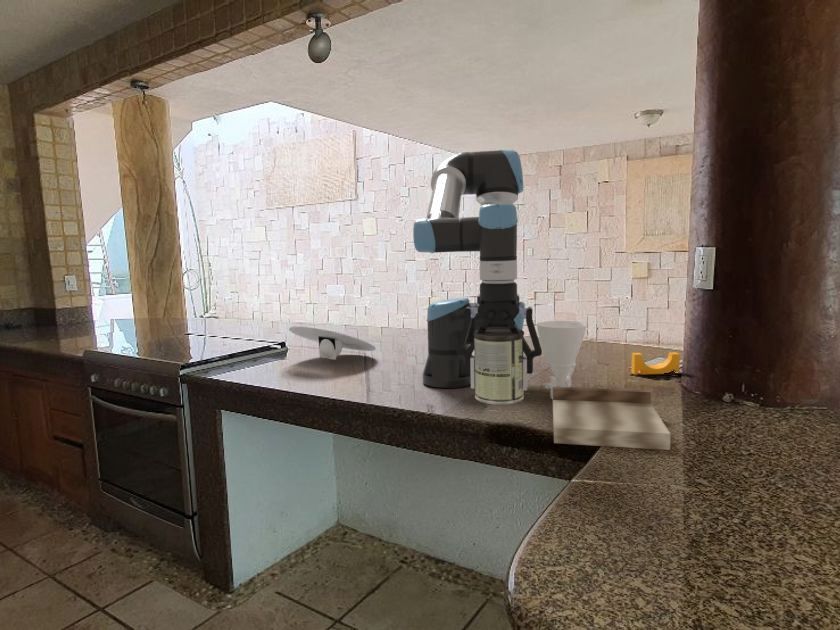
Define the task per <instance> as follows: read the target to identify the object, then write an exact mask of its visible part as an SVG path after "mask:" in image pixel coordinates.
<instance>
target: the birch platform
mask: <svg viewBox="0 0 840 630" xmlns="http://www.w3.org/2000/svg"><path fill="white" fill-rule="evenodd" d="M651 395H652V392H651V390H650V389H648V390H647V389H626V388H625V389H623V388H619V389H618V388H599V387H598V388H596V387H572V386H571V387H553V399H552V425H553V427H552V428H553V444H561V445H562V444H565V445H580V446H597V447H599V446H600V447H612V448H613V447H615V448H617V447H618V448H630V449H631V448H632V449H633V448H634V449H649V450H664V451H665V450H666V451H667V450H669V451H670V450H671V434H672V433H671V432H670V430H669V429H668V428H667V426H666V424H665V423H664V421H663V420H662V419H661V417H660V415H659V414H658V413H657V411H656V409H655V408H654V407H653V405H652V403H651V401H652V396H651Z"/></svg>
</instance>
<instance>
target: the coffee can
mask: <svg viewBox="0 0 840 630" xmlns="http://www.w3.org/2000/svg"><path fill="white" fill-rule="evenodd" d="M478 330H479V329H478ZM478 330H475V331H474V346H475V349H474V351H473V352H474V353H473V355H475V388H474V392H475V394H474V398H475V399H476V401H478V402H480V403H482V404H483V403H484V404H488V405H497V406H500V405H501V406H503V405H512V404H518V403H520V402H522V401H523V400H524V398H525V396H524V395H525V394H524V391H525V390H523V357H524V352H523V350H522V338H523V337H524V336H525V332H524V330H523V329H522V330H520V329H519V330H520V333H518V334H515V333H512V332H511V330H510V329H509V328H505V327H493V328H487V329H486V330H485V332H484V333H477V332H478Z"/></svg>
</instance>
